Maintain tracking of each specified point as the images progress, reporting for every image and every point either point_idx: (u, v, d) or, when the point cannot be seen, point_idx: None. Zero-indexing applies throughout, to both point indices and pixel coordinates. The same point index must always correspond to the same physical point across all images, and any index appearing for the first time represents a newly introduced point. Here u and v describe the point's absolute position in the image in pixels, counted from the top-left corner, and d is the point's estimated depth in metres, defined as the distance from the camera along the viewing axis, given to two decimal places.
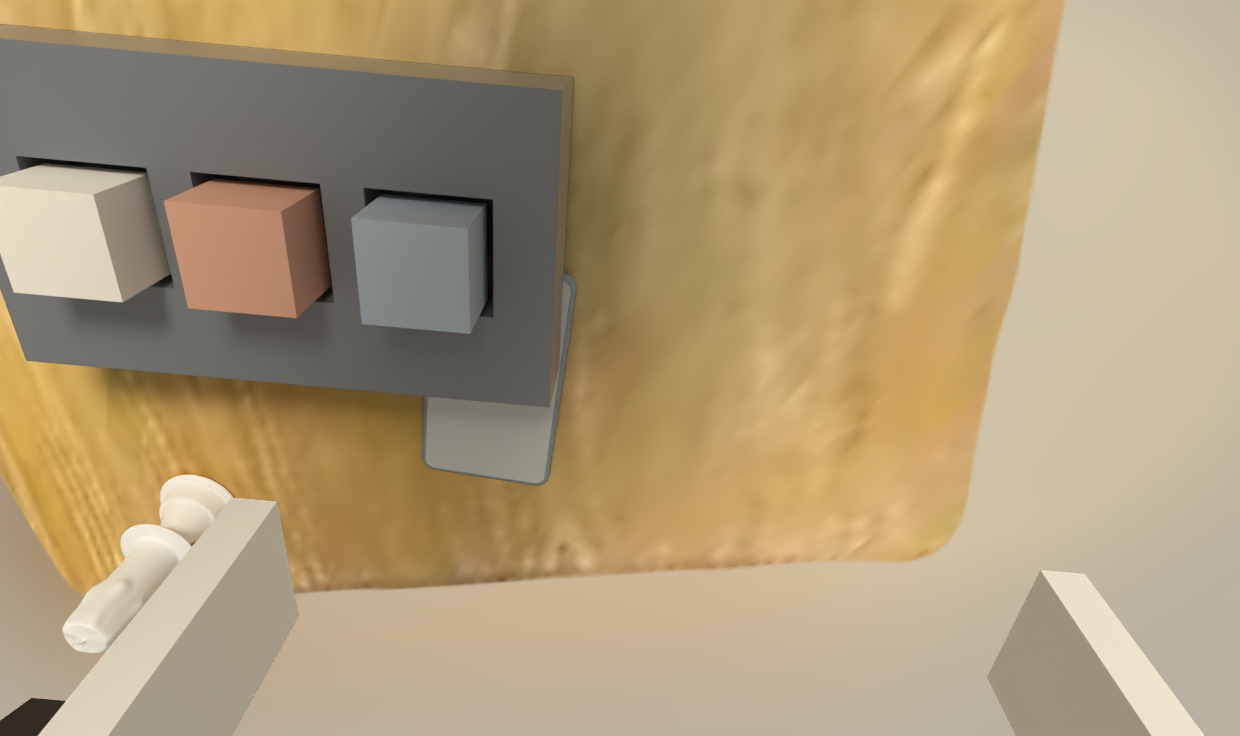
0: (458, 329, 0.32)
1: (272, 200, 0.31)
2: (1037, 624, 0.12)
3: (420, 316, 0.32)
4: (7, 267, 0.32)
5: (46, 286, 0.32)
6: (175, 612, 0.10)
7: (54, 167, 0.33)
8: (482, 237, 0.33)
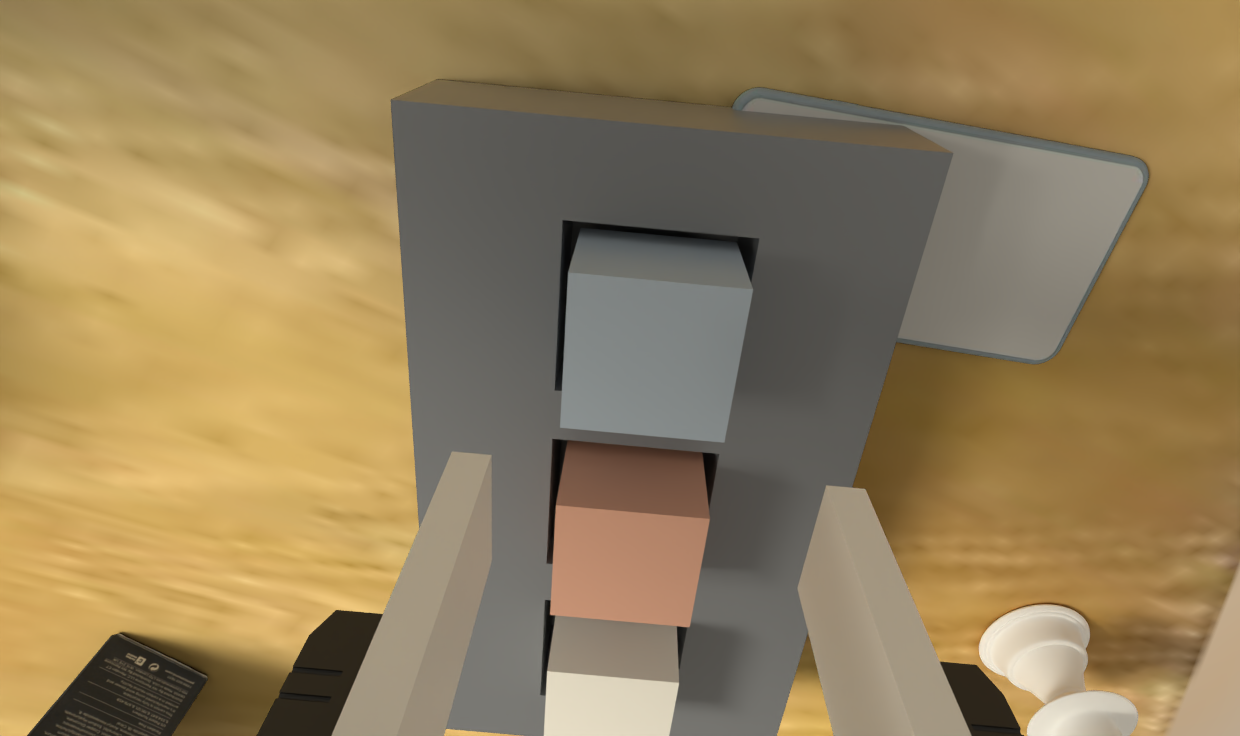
0: (743, 306, 0.19)
1: None
2: (822, 532, 0.13)
3: (716, 361, 0.20)
4: None
5: None
6: (444, 541, 0.11)
7: None
8: (621, 242, 0.22)
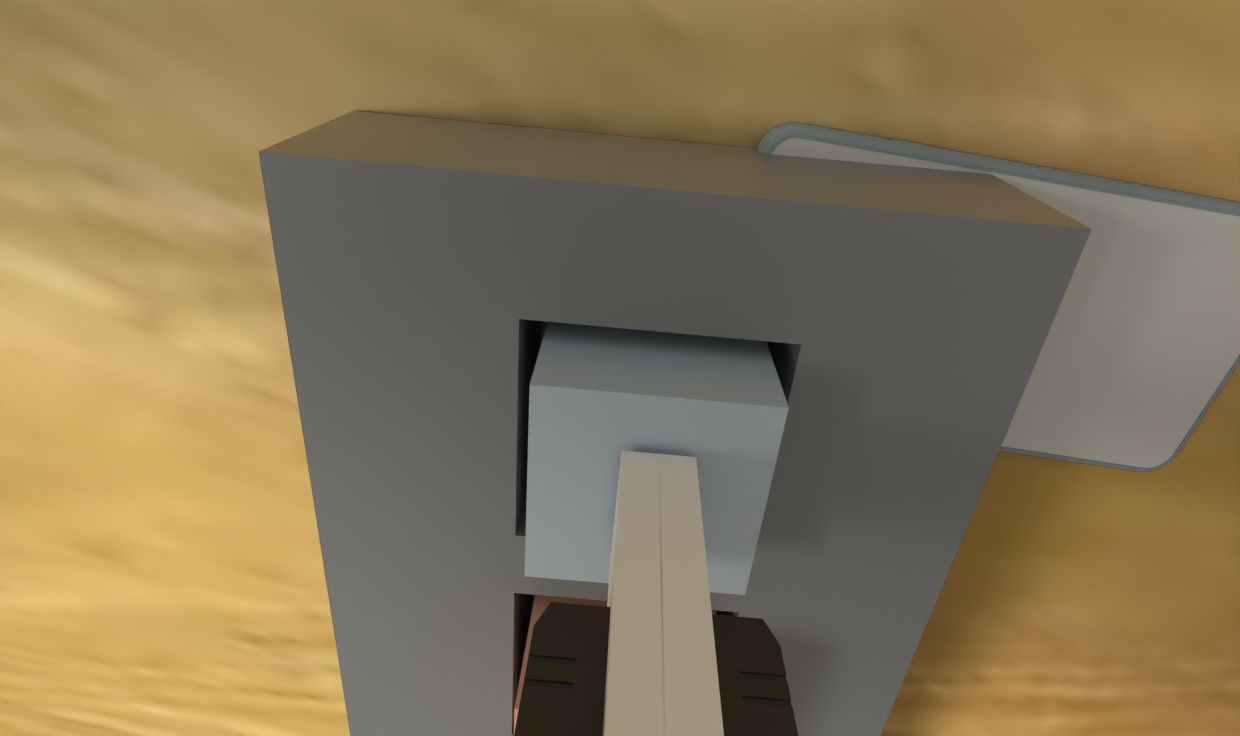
0: (774, 429, 0.14)
1: None
2: None
3: (735, 497, 0.15)
4: None
5: None
6: (644, 536, 0.12)
7: None
8: None
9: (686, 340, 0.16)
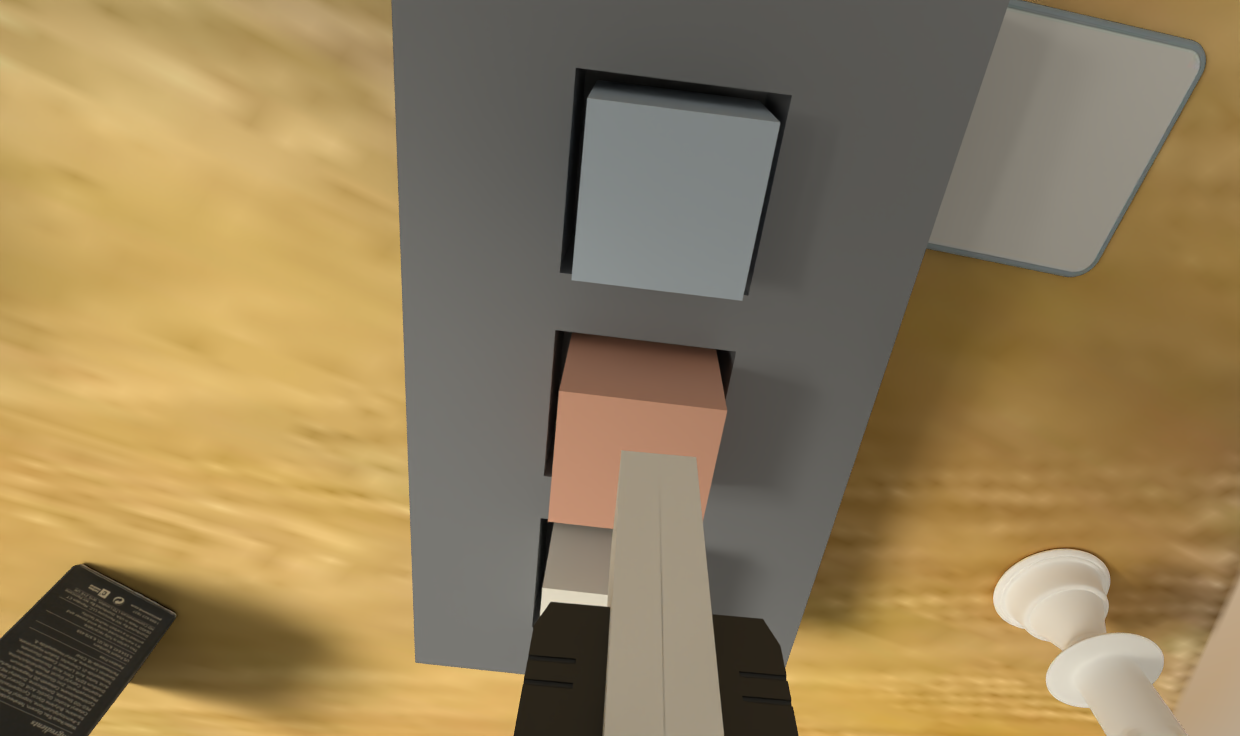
0: (769, 142, 0.18)
1: None
2: None
3: (738, 205, 0.19)
4: None
5: None
6: (644, 536, 0.12)
7: None
8: (640, 89, 0.21)
9: (702, 99, 0.20)
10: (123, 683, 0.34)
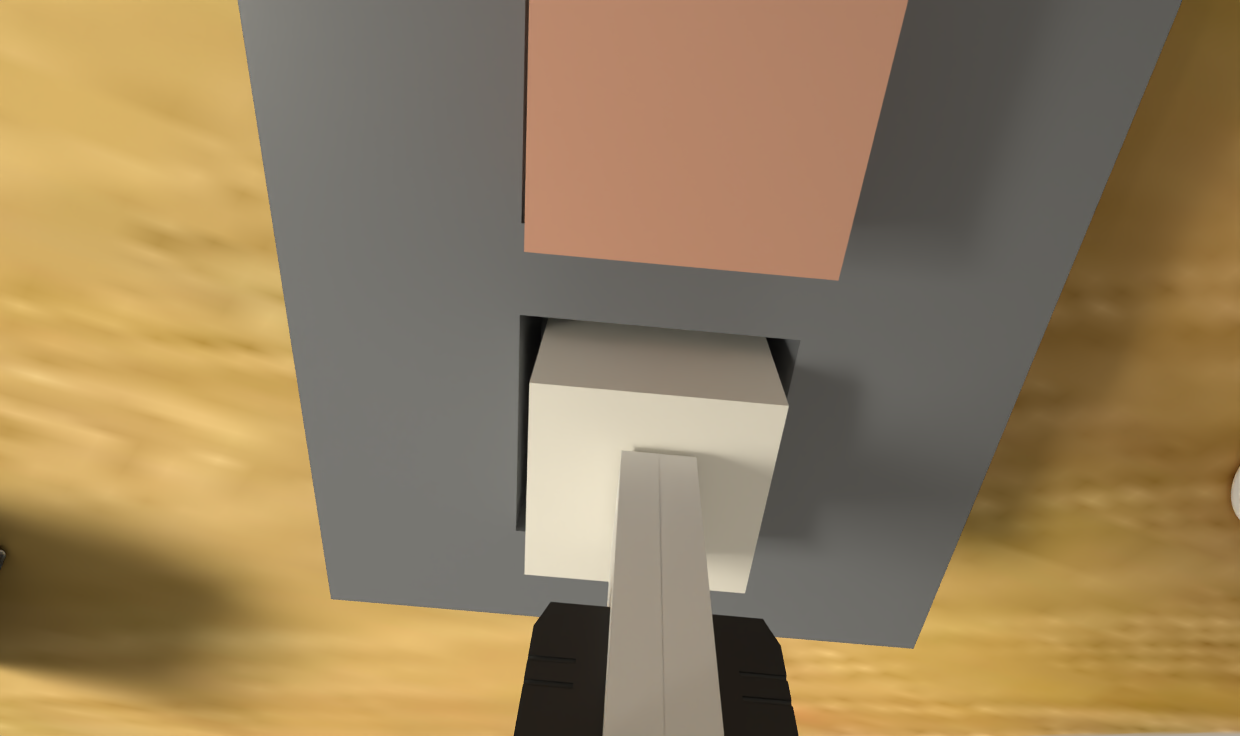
0: None
1: None
2: None
3: None
4: None
5: (736, 536, 0.15)
6: (644, 536, 0.12)
7: None
8: None
9: None
10: None
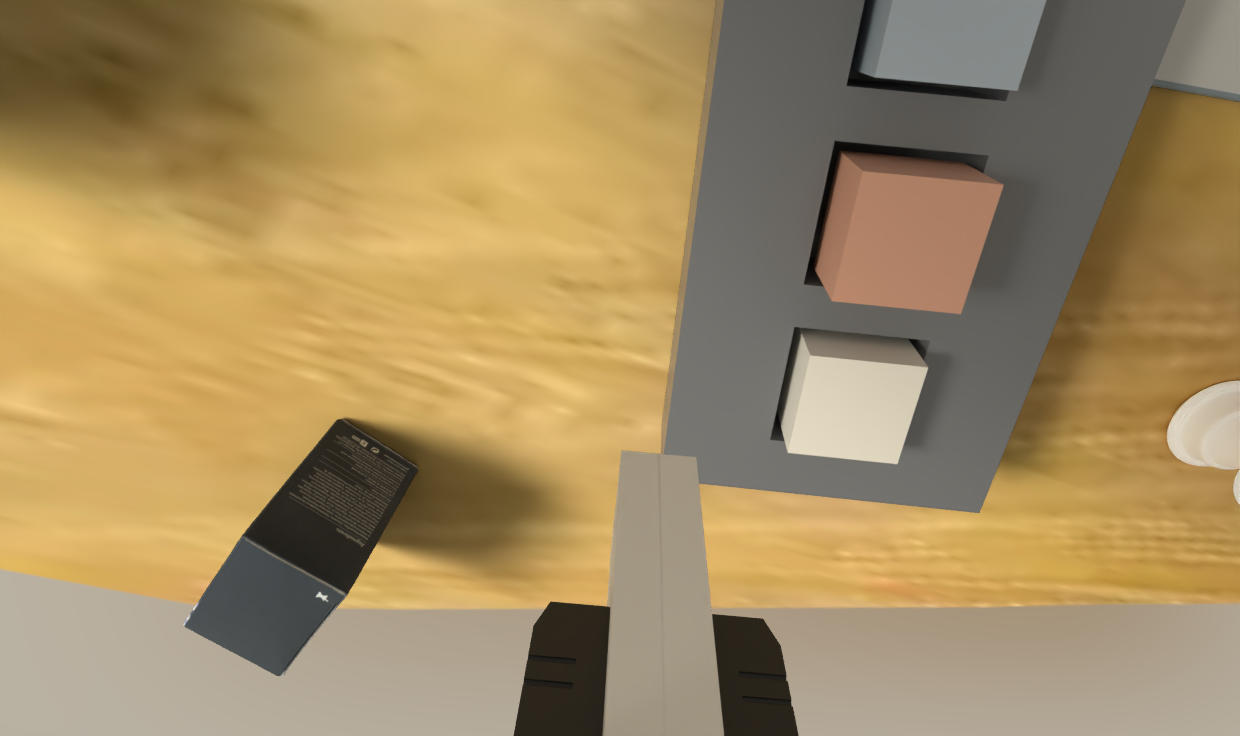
0: None
1: (847, 190, 0.27)
2: None
3: (1025, 1, 0.23)
4: (870, 459, 0.32)
5: (896, 433, 0.31)
6: (644, 536, 0.12)
7: (780, 399, 0.35)
8: None
9: None
10: (392, 512, 0.39)
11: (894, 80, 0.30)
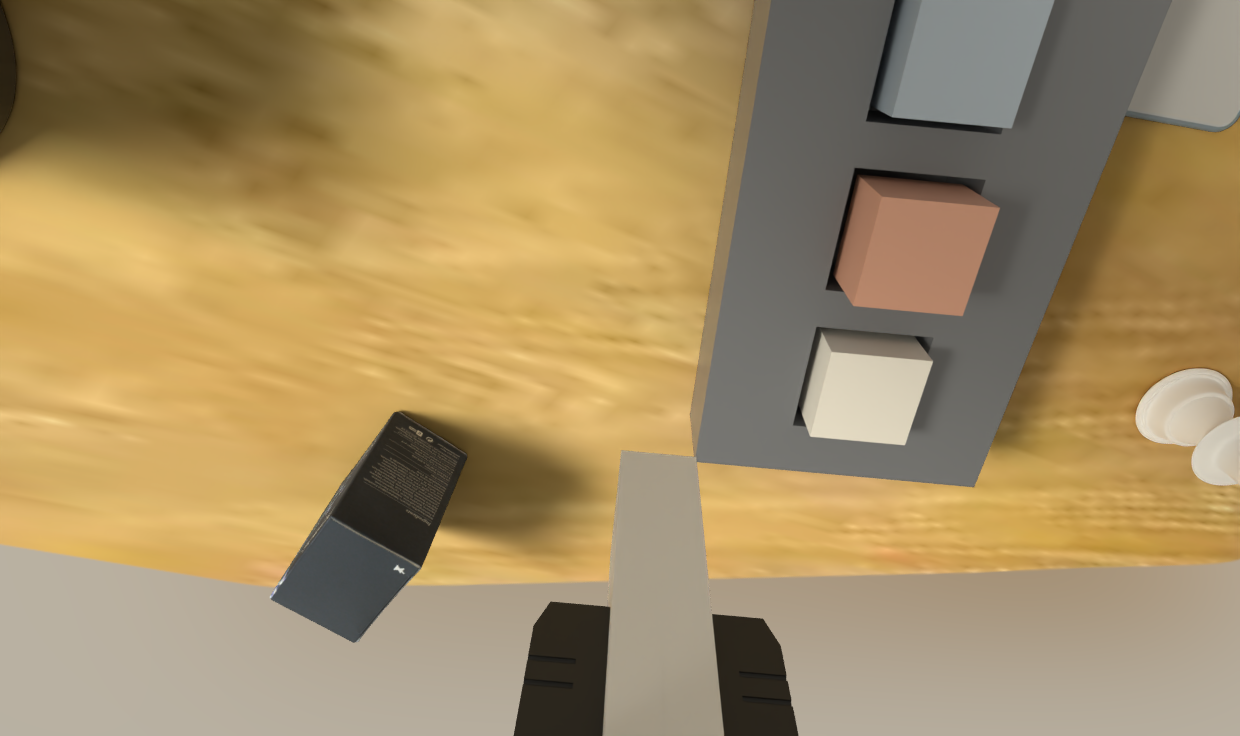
0: (1047, 7, 0.27)
1: (866, 211, 0.31)
2: None
3: (1019, 55, 0.28)
4: (881, 441, 0.37)
5: (904, 418, 0.36)
6: (644, 536, 0.12)
7: (801, 390, 0.40)
8: None
9: None
10: (450, 495, 0.43)
11: None
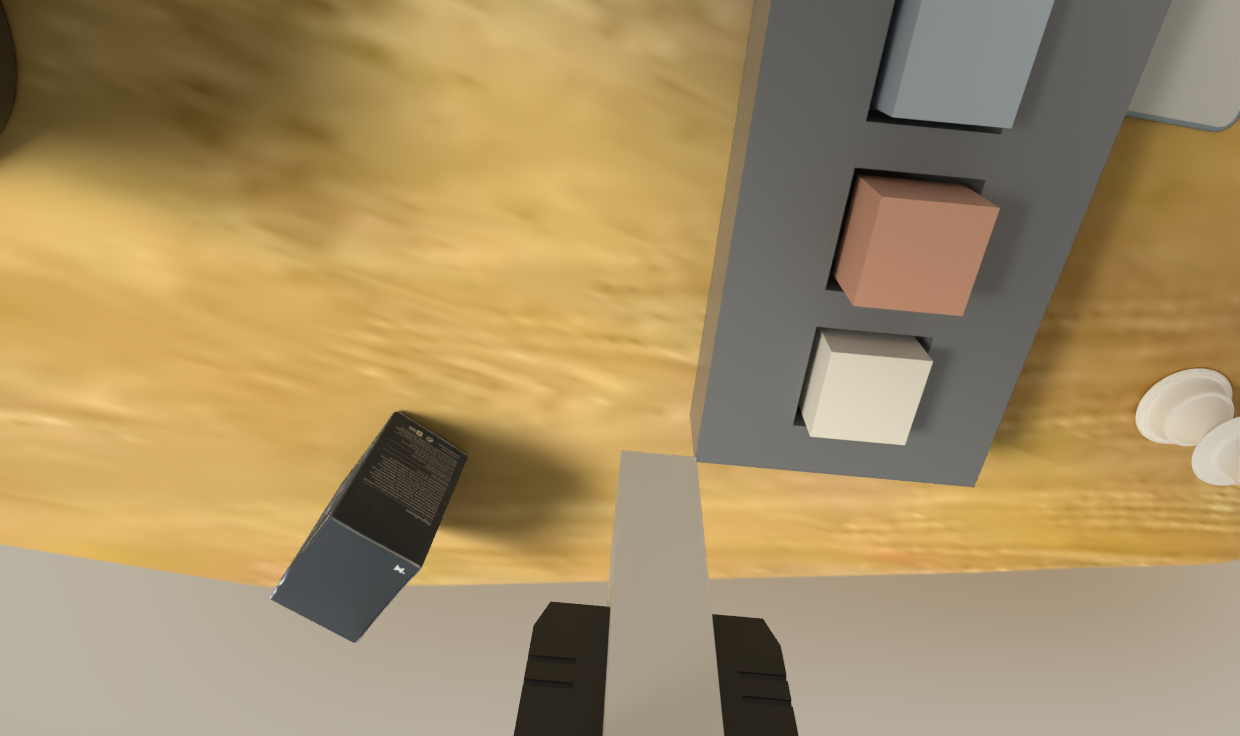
0: (1047, 7, 0.27)
1: (866, 211, 0.31)
2: None
3: (1019, 55, 0.28)
4: (881, 441, 0.37)
5: (904, 418, 0.36)
6: (644, 536, 0.12)
7: (801, 390, 0.40)
8: None
9: None
10: (450, 495, 0.43)
11: None
